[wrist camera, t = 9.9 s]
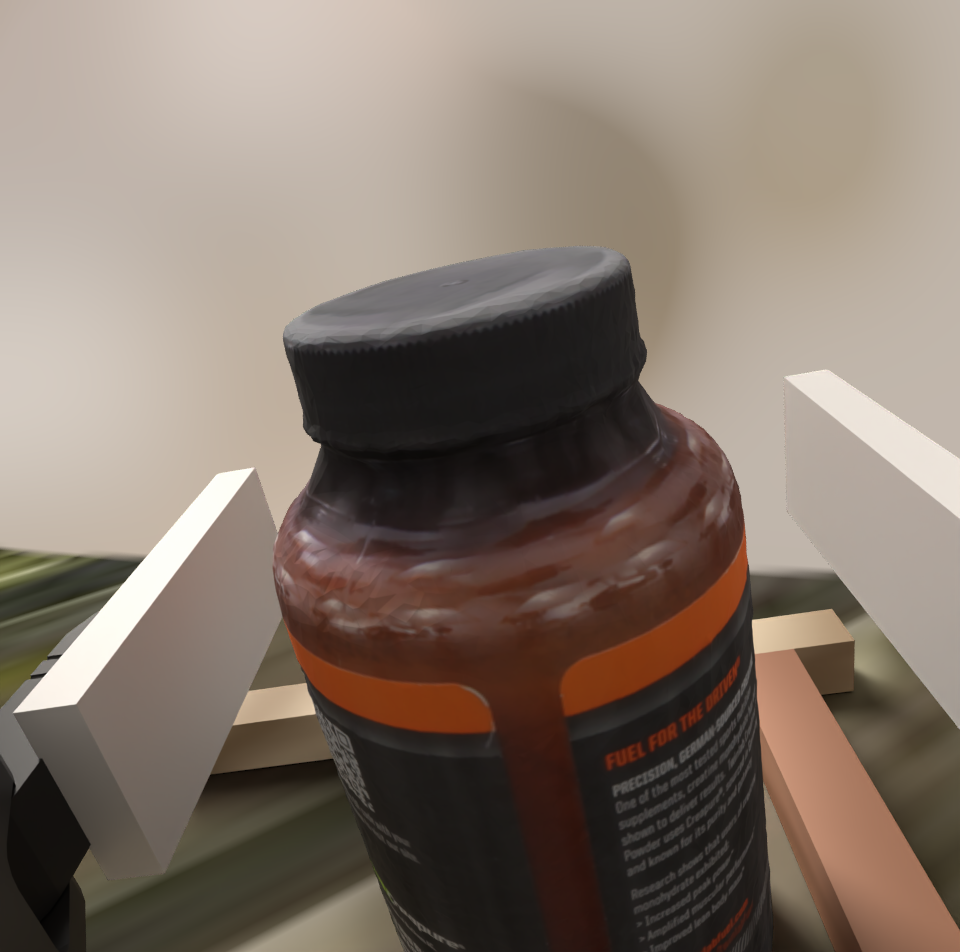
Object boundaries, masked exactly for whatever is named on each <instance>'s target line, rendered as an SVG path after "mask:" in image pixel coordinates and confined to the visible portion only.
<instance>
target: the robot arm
mask: <svg viewBox="0 0 960 952" xmlns="http://www.w3.org/2000/svg"><path fill="white" fill-rule="evenodd" d="M783 379H784V418H785V459H786V495H787V496H786V499H787V512H788V513H789V514H790V516H791V517H792V518H793V519H794V521H795V522H796V523H797V524H798V526H799V527H800V528H801V530H802V531H803V532H804V533H805V535H806V536H807V537H808V538H809V540H810V541H811V542H812V544H813V545H814V546H815V547H816V549H817V550H818V551H819V552H820V554H821V555H822V556H823V557H824V559H825V560H826V561H827V562H828V564H829V565H830V566H831V568H832V569H833V570H834V571H835V573H836V574H837V575H838V576H839V578H840V579H841V580H842V581H843V583H844V584H845V585H846V586H847V588H848V589H849V590H850V591H851V593H852V594H853V595H854V597H855V598H856V599H857V600H858V602H859V603H860V604H861V605H862V607H863V608H864V609H865V610H866V612H867V613H868V614H869V615H870V617H871V618H872V619H873V620H874V622H875V623H876V624H877V626H878V627H879V628H880V629H881V631H882V632H883V633H884V634H885V636H886V637H887V638H888V639H889V641H890V642H891V643H892V644H893V646H894V647H895V648H896V650H897V651H898V652H899V653H900V655H901V656H902V657H903V658H904V660H905V661H906V662H907V663H908V665H909V666H910V667H911V668H912V670H913V671H914V672H915V673H916V675H917V676H918V677H919V679H920V680H921V681H922V682H923V684H924V685H925V686H926V687H927V689H928V690H929V691H930V692H931V694H932V695H933V696H934V697H935V699H936V700H937V701H938V702H939V704H940V705H941V706H942V708H943V709H944V710H945V711H946V713H947V714H948V715H949V716H950V718H951V719H952V720H953V721H954V723H955V724H956V725H957V726H958V728H959V729H960V459H959V458H957V457H956V456H955V455H953V454H951V453H950V452H949V451H947V450H946V449H944V448H943V447H941V446H940V445H938V444H937V443H935V442H934V441H932V440H931V439H929V438H928V437H926V436H925V435H923V434H922V433H920V432H919V431H917V430H916V429H914V428H913V427H912V426H910V425H909V424H907V423H905V422H904V421H903V420H901V419H900V418H898V417H897V416H895V415H894V414H892V413H891V412H889V411H888V410H886V409H885V408H883V407H882V406H881V405H879V404H878V403H876V402H875V401H873V400H872V399H870V398H869V397H867V396H866V395H864V394H863V393H861V392H860V391H858V390H857V389H855V388H854V387H852V386H851V385H850V384H848V383H847V382H845V381H844V380H842V379H841V378H839V377H838V376H836V375H835V374H833V373H832V372H830V371H829V370H827V369H826V370H820V371H815V372H808V373H803V374H797V375H791V376H785V377H783ZM277 534H278V533H277V530H276V527H275V524H274V521H273V518H272V515H271V512H270V510H269V507H268V503H267V501H266V498H265V495H264V492H263V489H262V486H261V483H260V480H259V477H258V474H257V471H256V468H255V467H254V468H249V469H243V470H237V471H231V472H225V473H219V474H217V475H216V476H215V477H214V479H213V480H212V481H211V482H210V483H209V485H208V486H207V487H206V488H205V489H204V490H203V491H202V493H201V494H200V495H199V496H198V497H197V499H196V500H195V501H194V502H193V503H192V504H191V505H190V507H189V508H188V509H187V510H186V511H185V512H184V514H183V515H182V516H181V517H180V518H179V520H178V521H177V522H176V523H175V524H174V525H173V526H172V528H171V529H170V530H169V531H168V533H167V534H166V535H165V536H164V537H163V538H162V539H161V541H160V542H159V543H158V544H157V545H156V546H155V548H154V549H153V550H152V551H151V552H150V553H149V555H148V556H147V557H146V558H145V559H144V560H143V562H142V563H141V564H140V565H139V566H138V567H137V569H136V570H135V571H134V572H133V573H132V574H131V576H130V577H129V578H128V579H127V580H126V581H125V583H124V584H123V585H122V586H121V587H120V588H119V590H118V591H117V592H116V593H115V594H114V595H113V597H112V598H111V599H110V600H109V601H108V602H107V604H106V605H105V606H104V607H103V608H102V609H101V611H100V612H96V613H95V614H94V615H92V616H91V617H89V618H88V619H87V620H85V621H84V622H83V623H81V624H80V625H78V626H77V627H76V628H74V629H73V630H72V631H70V632H69V633H67V634H66V636H65V637H64V638H63V639H62V640H61V641H60V642H59V644H58V645H57V646H56V647H55V648H54V649H53V650H52V651H51V653H50V654H49V655H48V656H47V658H48V659H47V660H46V661H43V662H42V663H41V664H40V665H39V666H38V667H37V668H36V670H35V671H34V672H33V673H32V674H31V679H30V680H26V681H25V682H24V683H23V684H22V685H21V687H20V688H19V689H18V690H17V691H16V692H15V693H14V694H13V696H12V697H11V698H10V699H9V700H8V701H7V702H6V704H5V705H4V706H3V707H2V708H1V709H0V952H86V923H85V900H84V897H83V894H82V891H81V888H80V887H79V885H78V883H77V882H76V880H75V878H74V877H73V875H74V873H75V871H76V869H77V868H78V866H79V864H80V863H81V861H82V859H83V857H84V856H85V854H86V852H87V851H88V849H89V848H90V850H91V852H92V853H93V855H94V857H95V859H96V860H97V862H98V864H99V866H100V867H101V869H102V871H103V873H104V874H105V876H106V878H107V880H115V879H123V878H132V877H140V876H149V875H158V874H165V872H166V869H167V867H168V865H169V863H170V861H171V858H172V856H173V854H174V852H175V850H176V848H177V845H178V843H179V841H180V839H181V837H182V834H183V832H184V830H185V828H186V826H187V824H188V821H189V819H190V817H191V815H192V813H193V810H194V808H195V806H196V804H197V802H198V800H199V797H200V795H201V793H202V791H203V789H204V786H205V784H206V782H207V780H208V778H209V776H210V773H211V771H212V769H213V767H214V765H215V762H216V760H217V758H218V756H219V754H220V752H221V749H222V747H223V745H224V743H225V741H226V738H227V736H228V734H229V732H230V730H231V728H232V725H233V723H234V721H235V719H236V717H237V714H238V712H239V710H240V708H241V706H242V704H243V701H244V699H245V697H246V695H247V693H248V690H249V688H250V686H251V684H252V682H253V680H254V677H255V675H256V673H257V671H258V669H259V666H260V664H261V662H262V660H263V658H264V656H265V653H266V651H267V649H268V647H269V645H270V642H271V640H272V638H273V636H274V634H275V632H276V629H277V627H278V625H279V623H280V621H281V618H282V613H281V609H280V605H279V601H278V597H277V593H276V589H275V583H274V575H273V547H274V543H275V540H276V537H277Z"/></svg>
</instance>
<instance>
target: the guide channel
mask: <svg viewBox="0 0 960 952" xmlns="http://www.w3.org/2000/svg"><path fill="white" fill-rule="evenodd" d="M752 629H753V643H754V652H755V668H756V678H757V701H758V710H759V719H760V743H761V759H762V772H763V781H764V783H765V786H766V788H767V790H768V793H769V795H770V797H771V800H772V802H773V805H774V807H775V809H776V812H777V814H778V817H779V819H780V821H781V824H782V826H783V828H784V831H785V833H786V836H787V838H788V840H789V843H790V845H791V848H792V850H793V852H794V855H795V857H796V859H797V862H798V864H799V867H800V869H801V871H802V874H803V876H804V879H805V881H806V883H807V886H808V888H809V890H810V893H811V895H812V898H813V900H814V902H815V905H816V907H817V910H818V912H819V914H820V917H821V919H822V922H823V924H824V926H825V929H826V931H827V933H828V936H829V938H830V941H831V943H832V945H833V948H834V950H835V952H960V930H959V928H958V927H957V925H956V923H955V922H954V920H953V918H952V917H951V915H950V913H949V912H948V910H947V908H946V906H945V905H944V903H943V901H942V900H941V898H940V896H939V895H938V893H937V891H936V889H935V888H934V886H933V884H932V883H931V881H930V879H929V878H928V876H927V874H926V872H925V871H924V869H923V867H922V866H921V864H920V862H919V861H918V859H917V857H916V856H915V854H914V852H913V850H912V849H911V847H910V845H909V844H908V842H907V840H906V839H905V837H904V835H903V833H902V832H901V830H900V828H899V827H898V825H897V823H896V822H895V820H894V818H893V816H892V815H891V813H890V811H889V810H888V808H887V806H886V805H885V803H884V801H883V800H882V798H881V796H880V794H879V793H878V791H877V789H876V788H875V786H874V784H873V783H872V781H871V779H870V777H869V776H868V774H867V772H866V771H865V769H864V767H863V766H862V764H861V762H860V760H859V759H858V757H857V755H856V754H855V752H854V750H853V749H852V747H851V745H850V744H849V742H848V740H847V738H846V737H845V735H844V733H843V732H842V730H841V728H840V727H839V725H838V723H837V721H836V720H835V718H834V716H833V715H832V713H831V711H830V710H829V708H828V706H827V705H826V703H825V701H824V699H823V698H822V696H821V695H824V694H832V693H840V692H847V691H854V644H855V640H854V639H853V638H852V636H851V635H850V633H849V632H848V631H847V629H846V628H845V627H844V625H843V624H842V622H841V621H840V620H839V618H838V617H837V615H836V614H835V613H834V611H833V610H832V609H828V610H821V611H814V612H807V613H800V614H793V615H786V616H779V617H772V618H765V619H757V620H752ZM325 759H333V757H332V755H331V753H330V749H329V746H328V744H327V741H326V739H325V736H324V733H323V731H322V728H321V726H320V724H319V721H318V719H317V716H316V713H315V708H314V705H313V701H312V699H311V697H310V695H309V693H308V689H307V683H303V684H296V685H289V686H282V687H275V688H268V689H261V690H254V691H248V693H247V695H246V697H245V699H244V701H243V704H242V706H241V708H240V710H239V712H238V714H237V717H236V719H235V721H234V723H233V725H232V728H231V730H230V732H229V734H228V736H227V738H226V741H225V743H224V745H223V747H222V749H221V752H220V754H219V756H218V758H217V760H216V762H215V765H214V767H213V769H212V771H211V773H210V774H218V773H225V772H233V771H241V770H248V769H256V768H264V767H271V766H279V765H287V764H294V763H302V762H310V761H317V760H325Z"/></svg>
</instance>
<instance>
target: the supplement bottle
mask: <svg viewBox="0 0 960 952" xmlns="http://www.w3.org/2000/svg"><path fill="white" fill-rule="evenodd" d="M283 342H284V346H285V351H286V355H287V358H288V361H289V363H290V366H291V370H292V373H293V376H294V380H295V383H296V387H297V391H298V396H299V399H300V402H301V406H302V409H303V428H304V430H305V431H306V433H307V434H308V435H309V436H311V438H312V439H313V441H315V442H317V443H320V444H321V448H320V451H319V455H318V458H317V461H316V464H315V467H314V470H313V473H312V476H311V479H310V480H309V481H308V483H307V485H306V486H305V488H304V489H303V490H302V491H301V492H300V494H299V496H298V497H297V498H296V499H295V500H294V501H293V503H292V504H291V505H290V507H289V509H288V511H287V513H286V516H285V518H284V520H283V523H282V525H281V527H280V530H279V532H278V534H277V537H276V540H275V543H274V547H273V575H274V583H275V589H276V593H277V597H278V601H279V605H280V609H281V613H282V617H283V619H284V622H285V625H286V628H287V631H288V634H289V636H290V639H291V642H292V645H293V648H294V651H295V654H296V657H297V660H298V661H299V663H300V665H301V670H302V672H303V673H304V675H305V679H306V683H307V689H308V693H309V695H310V697H311V699H312V701H313V705H314V708H315V713H316V716H317V719H318V721H319V724H320V726H321V728H322V731H323V733H324V736H325V739H326V741H327V744H328V746H329V749H330V753H331V755H332V757H333V759H334V761H335V765H336V768H337V772H338V775H339V777H340V780H341V782H342V784H343V787H344V789H345V793H346V796H347V799H348V801H349V803H350V806H351V810H352V812H353V815H354V817H355V820H356V822H357V825H358V828H359V830H360V832H361V835H362V837H363V840H364V843H365V846H366V849H367V852H368V855H369V858H370V861H371V863H372V865H373V869H374V872H375V875H376V877H377V879H378V881H379V885H380V889H381V891H382V894H383V896H384V899H385V901H386V904H387V906H388V909H389V912H390V915H391V918H392V921H393V924H394V926H395V928H396V932H397V934H398V936H399V939H400V942H401V945H402V947H403V949H404V952H772V938H773V914H772V900H771V887H770V868H769V861H768V850H767V832H766V816H765V807H764V806H765V804H764V789H763V772H762V759H761V743H760V719H759V710H758V701H757V678H756V668H755V652H754V643H753V629H752V618H753V606H752V597H751V584H750V573H749V565H748V559H747V554H746V536H745V523H744V514H743V509H742V504H741V495H740V492H739V486H738V484H737V481H736V479H735V476H734V473H733V470H732V467H731V465H730V463H729V461H728V459H727V457H726V455H725V454H724V452H723V451H722V450H721V448H720V447H719V446H718V444H717V443H716V442H715V440H714V439H713V438H712V437H711V436H710V435H709V434H708V433H707V432H706V431H705V430H704V429H703V428H701V427H700V426H699V425H697V424H696V423H695V422H694V421H692V420H690V419H687V418H686V417H684V416H683V415H682V414H681V413H678V412H676V411H674V410H672V409H669V408H667V407H665V406H662V405H660V404H656V403H655V402H654V401H653V400H652V399H651V398H650V396H649V395H648V394H647V393H646V391H645V389H644V388H643V387H642V386H641V384H640V383H639V381H638V379H639V376H640V373H641V371H642V368H643V366H644V364H645V362H646V356H647V349H646V347H645V344H644V341H643V340H642V339H641V337H640V333H639V326H638V317H637V311H636V303H635V289H634V285H633V279H632V273H631V268H630V263H629V261H628V260H627V259H626V257H625V256H624V255H623V254H621V253H619V252H617V251H614V250H612V249H609V248H606V247H594V246H573V247H559V248H544V249H533V250H523V251H518V252H513V253H507V254H502V255H496V256H491V257H486V258H481V259H476V260H471V261H466V262H461V263H457V264H452V265H448V266H443V267H439V268H435V269H430V270H426V271H422V272H418V273H414V274H410V275H407V276H402V277H399V278H395V279H391V280H388V281H383V282H380V283H378V284H375V285H371V286H369V287H365V288H363V289H359V290H356V291H354V292H351V293H348V294H346V295H343V296H340V297H338V298H336V299H333V300H330V301H327V302H325V303H322V304H320V305H317V306H315V307H313V308H312V309H310V310H308V311H306V312H304V313H303V314H302V315H300V316H298V317H297V318H295V319H293V321H292V322H290V323H289V324H288V325H287V326H286V327H285V330H284V333H283Z"/></svg>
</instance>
